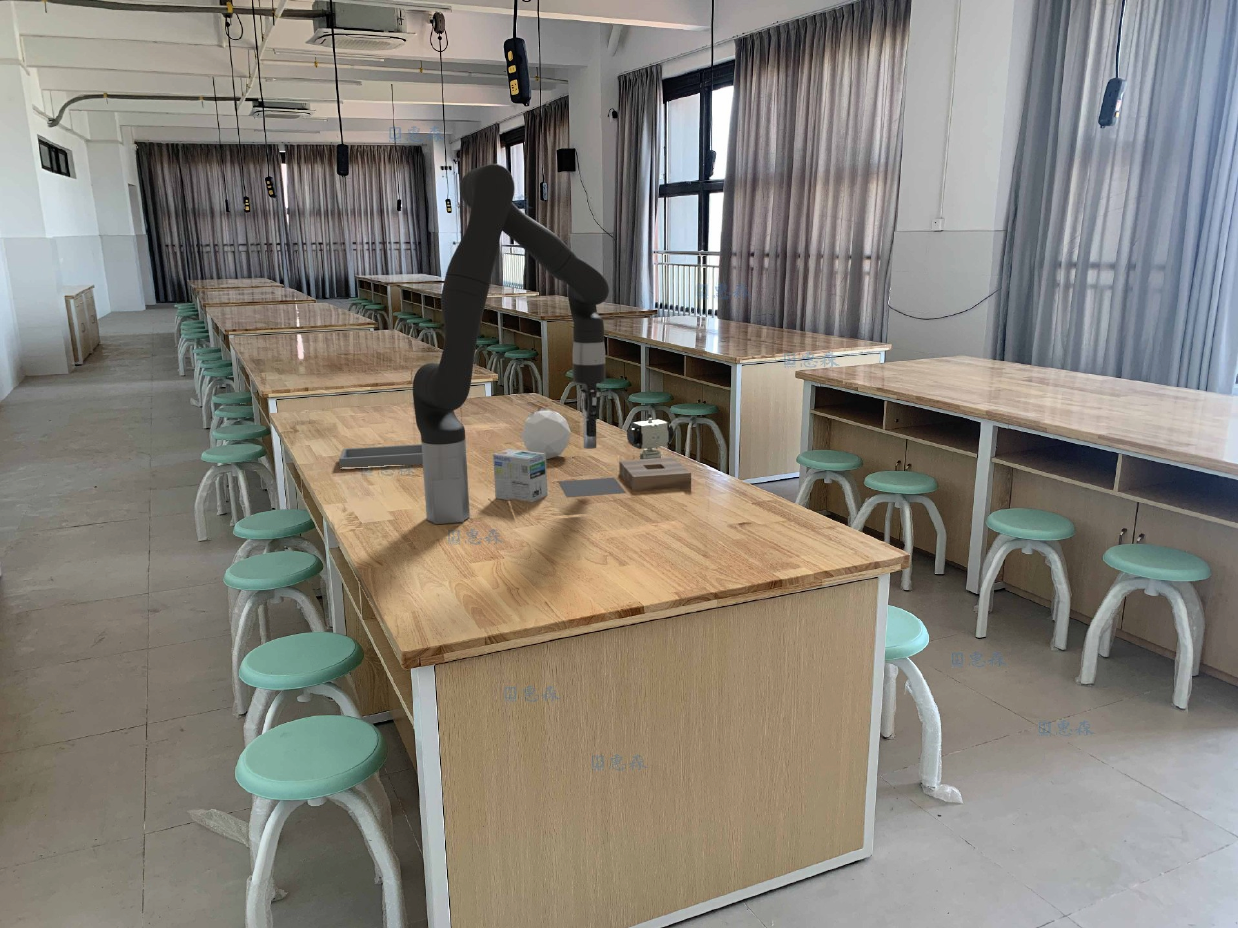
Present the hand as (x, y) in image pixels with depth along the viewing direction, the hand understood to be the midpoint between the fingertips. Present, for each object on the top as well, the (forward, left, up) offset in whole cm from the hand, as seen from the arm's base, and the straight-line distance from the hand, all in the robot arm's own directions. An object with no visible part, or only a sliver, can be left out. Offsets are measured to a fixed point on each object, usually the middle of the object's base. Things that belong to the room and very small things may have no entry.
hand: (589, 434), depth 211 cm
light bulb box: (-3, +17, -14) cm, 22 cm away
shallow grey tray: (+41, +49, -13) cm, 65 cm away
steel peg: (0, 0, -3) cm, 3 cm away
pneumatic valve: (+21, -20, -14) cm, 32 cm away
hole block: (+2, -16, -13) cm, 21 cm away
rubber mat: (0, 0, -13) cm, 13 cm away
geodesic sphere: (+35, +6, -14) cm, 38 cm away
